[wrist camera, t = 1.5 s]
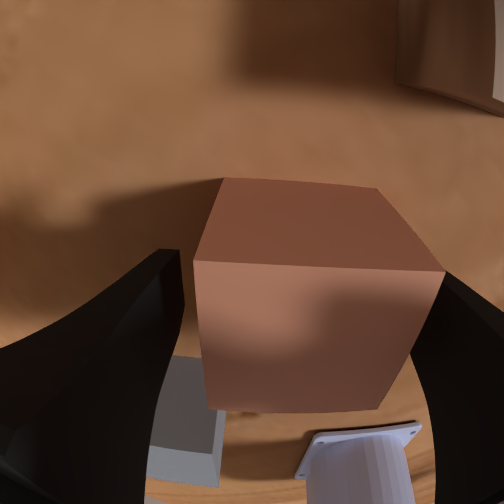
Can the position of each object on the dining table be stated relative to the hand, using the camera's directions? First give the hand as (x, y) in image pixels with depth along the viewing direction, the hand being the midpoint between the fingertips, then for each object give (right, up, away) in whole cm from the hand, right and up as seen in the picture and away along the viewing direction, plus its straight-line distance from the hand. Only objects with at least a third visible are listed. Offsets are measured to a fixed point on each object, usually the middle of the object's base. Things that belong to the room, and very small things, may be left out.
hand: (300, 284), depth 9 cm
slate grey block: (-5, -6, +6) cm, 10 cm away
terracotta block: (0, +1, +2) cm, 2 cm away
